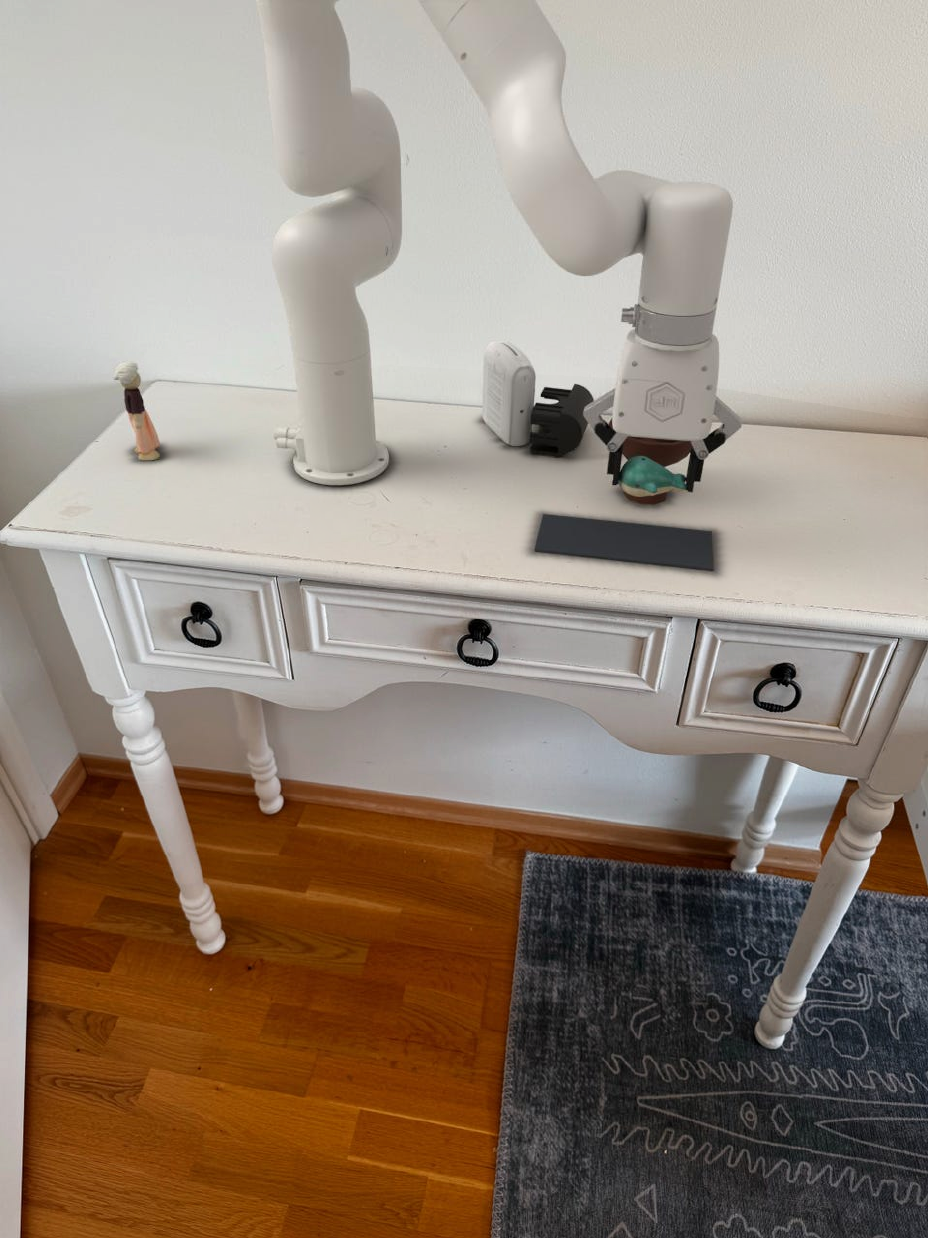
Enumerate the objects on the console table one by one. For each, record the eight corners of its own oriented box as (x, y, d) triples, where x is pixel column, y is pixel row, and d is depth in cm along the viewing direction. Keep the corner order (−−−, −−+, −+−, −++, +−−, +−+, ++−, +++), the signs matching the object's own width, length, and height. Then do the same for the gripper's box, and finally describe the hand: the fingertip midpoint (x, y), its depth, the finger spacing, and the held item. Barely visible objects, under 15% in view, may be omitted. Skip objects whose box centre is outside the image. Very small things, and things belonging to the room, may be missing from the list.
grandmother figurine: (170, 459, 119) (150, 368, 111) (142, 466, 117) (120, 374, 110) (151, 437, 124) (130, 349, 116) (124, 445, 122) (101, 355, 115)
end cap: (579, 462, 119) (583, 415, 114) (528, 455, 120) (530, 408, 116) (592, 430, 126) (596, 385, 122) (543, 424, 128) (546, 379, 124)
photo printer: (536, 443, 123) (541, 357, 115) (508, 449, 122) (511, 361, 114) (505, 414, 130) (507, 331, 123) (478, 419, 129) (479, 335, 122)
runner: (534, 551, 101) (534, 549, 101) (543, 515, 108) (543, 513, 108) (713, 571, 98) (713, 568, 98) (711, 533, 105) (711, 531, 104)
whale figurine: (619, 475, 101) (623, 444, 99) (685, 480, 100) (690, 450, 98) (616, 500, 97) (620, 469, 94) (685, 506, 95) (690, 475, 93)
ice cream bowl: (592, 506, 110) (604, 391, 100) (615, 466, 118) (628, 356, 109) (678, 523, 106) (698, 406, 97) (695, 481, 115) (715, 369, 105)
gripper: (582, 330, 85) (570, 492, 96) (768, 342, 83) (734, 507, 93) (588, 305, 91) (576, 460, 102) (763, 315, 89) (732, 473, 99)
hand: (652, 482), depth 98 cm, fingers closed on whale figurine, 7 cm apart
